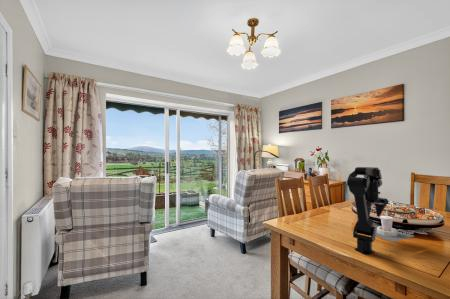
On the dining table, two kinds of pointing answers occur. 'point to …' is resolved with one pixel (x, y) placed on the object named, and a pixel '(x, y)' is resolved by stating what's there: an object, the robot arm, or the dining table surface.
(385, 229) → the smoothie
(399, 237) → the mat
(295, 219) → the dining table surface
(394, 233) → the collar
